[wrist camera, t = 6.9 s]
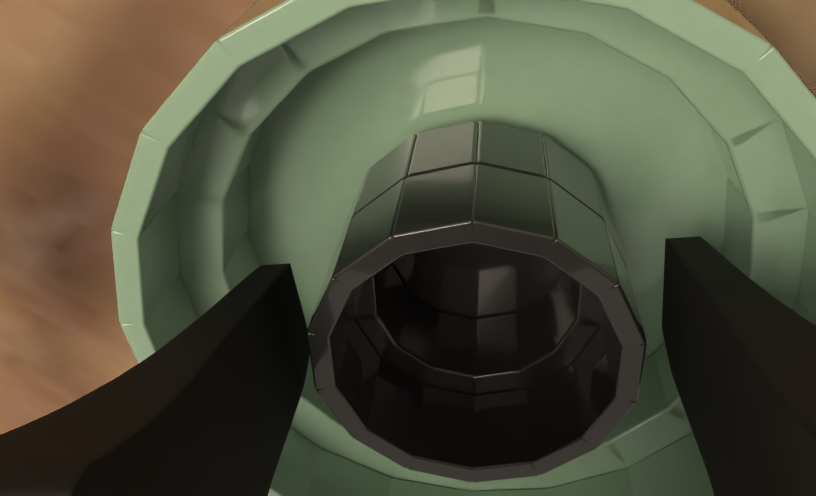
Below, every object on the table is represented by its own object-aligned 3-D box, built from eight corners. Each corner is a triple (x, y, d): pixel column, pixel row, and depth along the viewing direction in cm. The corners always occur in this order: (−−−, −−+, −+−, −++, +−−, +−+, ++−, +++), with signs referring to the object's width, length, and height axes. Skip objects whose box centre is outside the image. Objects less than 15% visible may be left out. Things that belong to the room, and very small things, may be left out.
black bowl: (425, 365, 18) (406, 512, 15) (302, 177, 16) (243, 297, 12) (647, 289, 17) (690, 435, 13) (547, 64, 14) (564, 164, 10)
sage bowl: (371, 480, 22) (346, 617, 18) (76, 94, 16) (-43, 184, 13) (852, 341, 17) (941, 484, 14) (676, -249, 12) (751, -260, 8)
